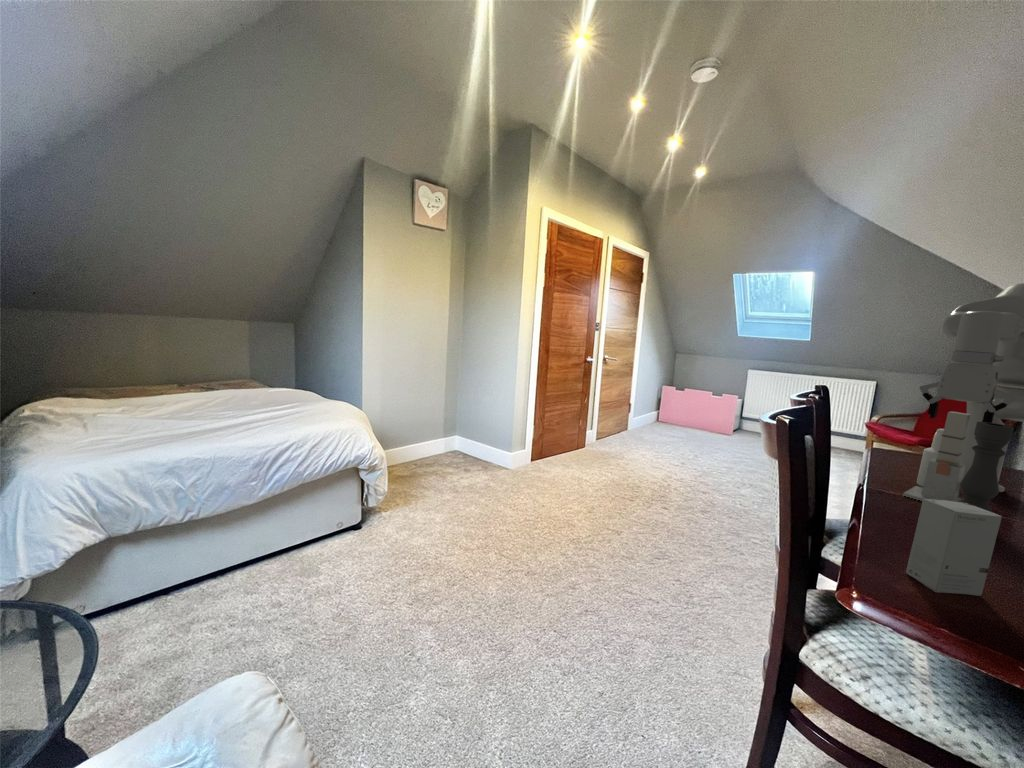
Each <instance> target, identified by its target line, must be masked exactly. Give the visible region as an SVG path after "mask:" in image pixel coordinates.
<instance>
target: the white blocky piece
mask: <svg viewBox="0 0 1024 768" xmlns="http://www.w3.org/2000/svg"><path fill="white" fill-rule="evenodd" d="M936 459H937V458H934V459H932V460H930V461H929V464H928V468H927V473H926V477H925V481H924V485H923V487H922V486H919V485H915V486H912V488H909V489H907V490H906V491H904V492H903V494H902V497H904V496H906V497H905V498H907V497H910V498H909V499H911V498H913V499H912V500H914V499H916V500H915V501H918V500H920V501H919V502H921V501H923V499H933V500H947V501H952V502H957V501H959V500H961V499H962V498H963V497H959V494H960V490H961V488H960V483H961V481H962V478H963V474H964V470H965V466H966V465H964V464H958V466H957V467H956V466H952V465H950V463H949V462H945V461H941V460H940V461H939V462H937V461H936Z"/></svg>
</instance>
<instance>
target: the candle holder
mask: <svg viewBox="0 0 1024 768" xmlns="http://www.w3.org/2000/svg"><path fill="white" fill-rule="evenodd" d="M1014 428H1015V427H1014V426H1012V425H1011V426H1010V425H1007V424H1005V425H1002V424H996V423H988V422H977V424H976V428H975V432H974V435H975V440H976V442H977V445H976V446H973V447H972V449H973V450H974V452H975V455H974V459H973V463H972V466H971V467H970V469H969V470H968V472H967V473H966V475H965V476H964V478H963V480H962V481H961V483H960V490H961V492H962V493H963V494H962V496H963V497H961V498H962V499H961V500H959V501H957V502H961V503H968V504H970V505H973V506H976V507H979V508H981V509H984V510H987V511H990V512H992V513H993V508H991V506H990V505H989V503H990V502H991V500H993V499H994V498H996V497H997V496H998V495H999V493H1000V492H999V488H998V484H999V481H998V478H997V466H998V462H999V458H1000V457H1001V456H1004V455H1005V456H1006V453H1007V452H1006V453H1005V452H1004V451H1003V450H1002V448H1003V447H1004V446H1005V445H1007V444H1008V445H1009V443H1008V441H1009V442H1011V441H1012V440H1011V439H1012V436H1013V433H1014V430H1015V429H1014Z"/></svg>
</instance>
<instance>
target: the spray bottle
mask: <svg viewBox="0 0 1024 768" xmlns="http://www.w3.org/2000/svg"><path fill="white" fill-rule="evenodd" d="M943 432H944V428H938V429H936V432H935V434H934V436H933V440H932V443H931V447H927V448H924V449H923V452H922V457H921V461H920V466H919V470H918V474H917V479H916V485H917V486H919V487H922V488H923V485H924V481H925V477H926V473H927V468H928V464H929V461H930V460H932V459H934V458H937V457H938V453H939V452H938V450H939V449H940V445H941V440H942V434H943Z"/></svg>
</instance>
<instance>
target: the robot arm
mask: <svg viewBox="0 0 1024 768" xmlns="http://www.w3.org/2000/svg"><path fill="white" fill-rule="evenodd" d="M942 332H943V334H944V335H945V336H946V337H948V338H951V339H955V342H954V345H953V347H954V348H953V351H952V355H951V361H947V362H946V364H945V366H944V368H943V370H942V373H941V376H940V378H939V381H937V382H933V383H928V384H925V385H921V386H919V390H920V392H921V394H922V397H923V398H925V400H927V402H928V403H929V406H928V411H927V415H929V419H935V418H937V415H938V411H939V407H940V404H939V401H941V400H943V399H945V400H951V401H958V402H966V414H971V415H970V419H969V423H968V427H967V431H966V435H965V437H966V438H965V439H964V443H963V447H962V452H961V453H962V454H961V456H960V460H959V461H960V462H959V464H964V465H966V466H965V470H964V474H963V478H964V476H965V475H966V473H967V472H968V470H969V469H970V467H971V466H972V463H973V459H974V455H975V452H974V450H973V449H972V447H973V446H976V445H977V442H976V440H975V435H974V432H975V428H976V424H977V422H988V423H996V424H1002V425H1006V424H1005V423H1004V422H1003V421H1002V420H1008V421H1015V422H1022V423H1024V283H1023V282H1021V283H1017V284H1011V285H1010V286H1008V287H1006V288H1004V289H1003V290H1002V291H1001V292H999V293H998V294H997V295H996V296H995V297H991V298H986V299H983V300H982V299H981V300H977V301H973V302H969V303H964V304H962V305H959V306H958V307H956V308H955V309H953V310H952V311H951V312H950V313H949V314H948V315H947V316H946V318H945V319H944V321H943V324H942ZM934 388H935V389H936V391H935V392H936V395H935V396H933V395H932V394H931V393H930V392H929V390H930V389H934ZM1009 442H1010V441H1008V444H1007V445H1005V446H1004V447H1003V448H1002V450H1003V451H1004V452H1005V453H1007V450H1008V446H1009ZM1005 457H1006V454H1005V455H1004V456H1001V457H1000V458H999V462H998V466H997V478H998V482H999V481H1000V476H1001V473H1002V469H1003V466H1004V462H1005ZM963 478H962V480H963ZM998 488H999V492H998V493H1003V492H1005V489H1006V488H1005V487H1004V486H1003V485H1001V484H999V483H998Z"/></svg>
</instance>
